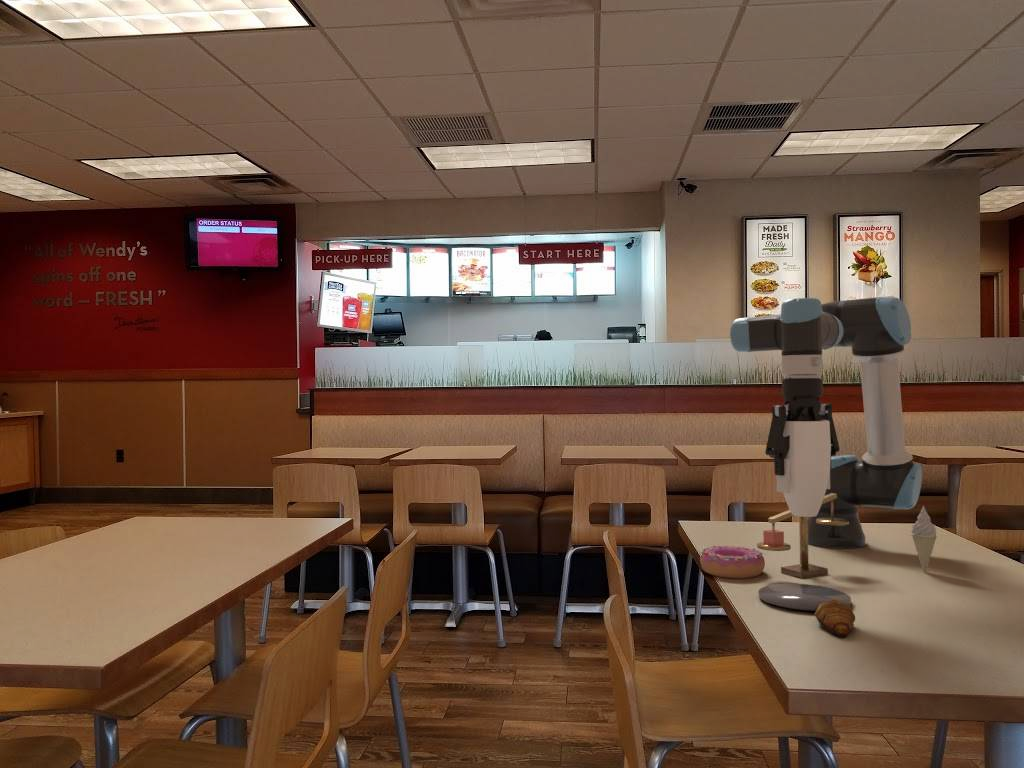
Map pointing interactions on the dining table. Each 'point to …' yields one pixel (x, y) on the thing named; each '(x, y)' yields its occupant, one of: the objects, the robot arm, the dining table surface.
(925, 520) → the ice cream cone
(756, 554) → the donut
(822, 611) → the croissant
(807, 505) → the cup
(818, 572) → the balance
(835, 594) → the grey flat disc
